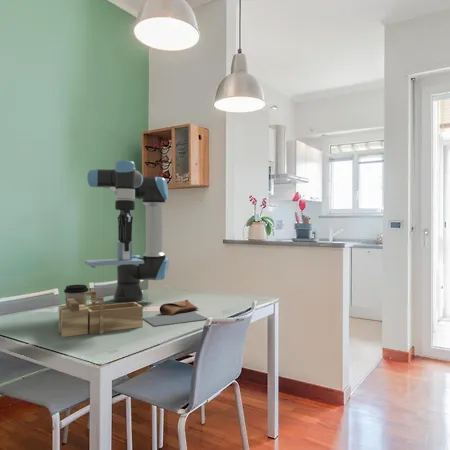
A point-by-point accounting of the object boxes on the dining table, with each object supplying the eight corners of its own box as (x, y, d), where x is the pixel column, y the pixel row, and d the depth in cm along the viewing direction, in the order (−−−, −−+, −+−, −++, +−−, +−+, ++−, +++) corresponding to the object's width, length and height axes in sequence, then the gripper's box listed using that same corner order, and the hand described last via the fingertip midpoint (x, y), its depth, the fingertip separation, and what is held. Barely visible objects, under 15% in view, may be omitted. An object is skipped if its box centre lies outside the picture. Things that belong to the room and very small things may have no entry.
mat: (143, 318, 168) (143, 317, 168) (194, 312, 180) (194, 312, 180) (153, 326, 156) (153, 325, 156) (208, 319, 168) (208, 318, 168)
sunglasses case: (172, 314, 172) (167, 300, 174) (163, 321, 176) (157, 307, 178) (200, 308, 186) (194, 295, 188) (190, 314, 190) (185, 301, 192)
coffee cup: (67, 320, 165) (68, 284, 165) (91, 319, 166) (91, 284, 166) (60, 326, 155) (60, 288, 155) (85, 325, 156) (85, 288, 156)
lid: (84, 265, 155) (84, 242, 155) (136, 263, 165) (136, 241, 165) (89, 268, 145) (89, 243, 145) (144, 266, 155) (144, 242, 155)
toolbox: (57, 328, 152) (58, 294, 152) (133, 319, 167) (133, 288, 166) (63, 338, 139) (63, 301, 139) (144, 328, 153) (144, 294, 153)
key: (65, 303, 154) (65, 297, 154) (72, 302, 155) (72, 296, 155) (71, 311, 140) (71, 305, 140) (79, 311, 141) (79, 304, 141)
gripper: (110, 200, 162) (110, 257, 162) (120, 198, 148) (120, 261, 148) (128, 201, 166) (128, 257, 166) (140, 199, 151) (140, 260, 152)
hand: (124, 259), depth 157 cm, fingers closed on lid, 3 cm apart
